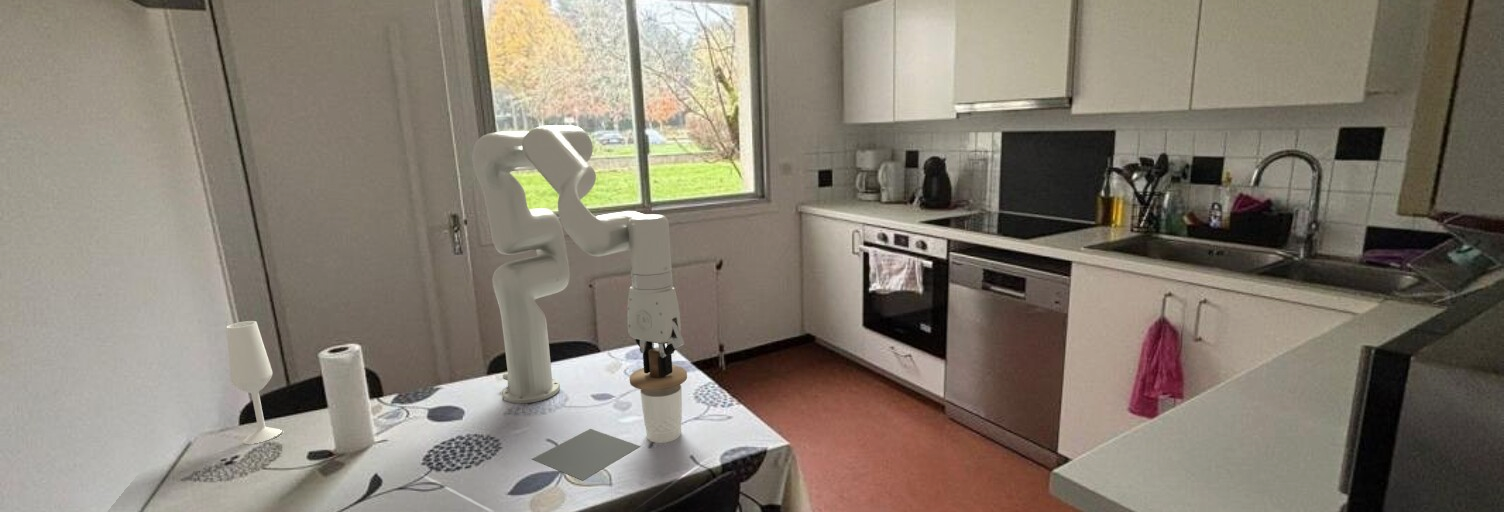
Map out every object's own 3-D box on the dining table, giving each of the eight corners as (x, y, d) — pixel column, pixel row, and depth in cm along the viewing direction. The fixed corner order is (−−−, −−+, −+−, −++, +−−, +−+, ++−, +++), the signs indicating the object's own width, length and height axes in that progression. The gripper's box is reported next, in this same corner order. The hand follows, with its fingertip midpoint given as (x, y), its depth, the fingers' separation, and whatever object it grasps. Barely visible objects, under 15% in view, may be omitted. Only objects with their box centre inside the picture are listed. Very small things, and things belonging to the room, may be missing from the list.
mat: (531, 460, 116) (531, 458, 116) (590, 430, 127) (590, 428, 127) (582, 482, 108) (582, 480, 108) (640, 448, 120) (640, 446, 120)
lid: (617, 383, 121) (615, 354, 120) (656, 365, 130) (655, 338, 129) (660, 394, 115) (658, 364, 113) (698, 374, 123) (697, 346, 122)
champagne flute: (281, 438, 128) (260, 325, 124) (240, 447, 125) (216, 331, 121) (285, 426, 134) (265, 317, 130) (245, 434, 131) (223, 323, 126)
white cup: (676, 447, 120) (673, 397, 118) (637, 444, 121) (634, 395, 119) (689, 428, 127) (686, 381, 125) (652, 425, 129) (649, 379, 127)
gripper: (606, 280, 120) (614, 371, 123) (671, 289, 111) (677, 388, 114) (635, 272, 126) (641, 359, 130) (698, 280, 117) (703, 374, 120)
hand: (658, 372), depth 122 cm, fingers closed on lid, 3 cm apart
